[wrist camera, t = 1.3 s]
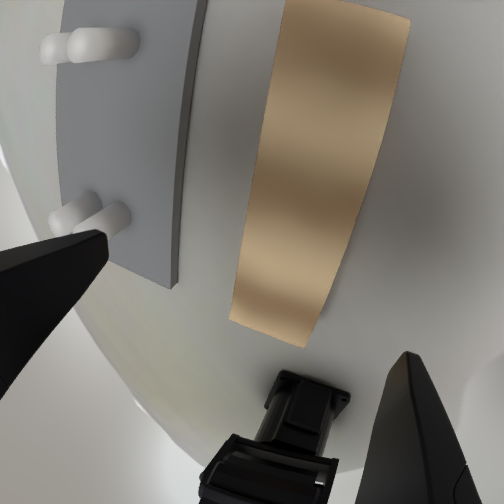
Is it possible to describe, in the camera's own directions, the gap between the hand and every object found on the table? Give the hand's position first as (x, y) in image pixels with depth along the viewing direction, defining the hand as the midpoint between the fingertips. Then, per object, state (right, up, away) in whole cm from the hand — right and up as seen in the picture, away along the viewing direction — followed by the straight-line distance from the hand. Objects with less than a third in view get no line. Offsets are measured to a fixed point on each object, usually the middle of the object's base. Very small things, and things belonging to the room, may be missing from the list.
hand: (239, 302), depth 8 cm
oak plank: (+4, +5, +9) cm, 11 cm away
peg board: (-9, +10, +11) cm, 17 cm away
